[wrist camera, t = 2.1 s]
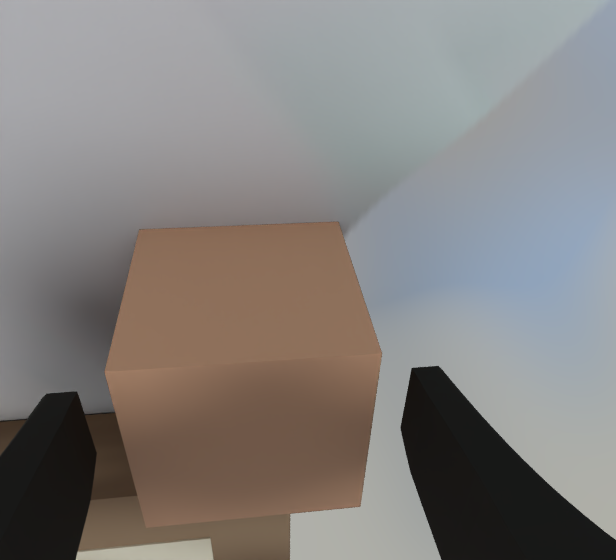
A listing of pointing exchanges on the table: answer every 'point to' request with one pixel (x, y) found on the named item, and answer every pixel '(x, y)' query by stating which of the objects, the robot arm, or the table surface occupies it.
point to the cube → (243, 372)
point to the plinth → (165, 539)
